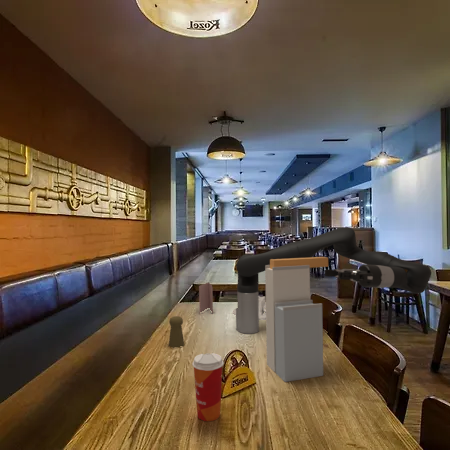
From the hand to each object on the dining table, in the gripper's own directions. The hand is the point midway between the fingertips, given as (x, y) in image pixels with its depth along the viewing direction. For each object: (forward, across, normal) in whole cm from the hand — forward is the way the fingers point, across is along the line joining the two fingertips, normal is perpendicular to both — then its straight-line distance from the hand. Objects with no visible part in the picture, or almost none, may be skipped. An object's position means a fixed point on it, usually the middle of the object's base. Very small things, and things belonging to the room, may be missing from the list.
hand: (331, 274), depth 110 cm
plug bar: (+10, -4, -1) cm, 11 cm away
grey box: (+11, +2, +31) cm, 33 cm away
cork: (+46, -33, +33) cm, 66 cm away
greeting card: (+25, -78, +30) cm, 87 cm away
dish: (+1, -70, +28) cm, 75 cm away
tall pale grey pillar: (+11, -5, +31) cm, 33 cm away
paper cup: (+41, +17, +35) cm, 57 cm away
